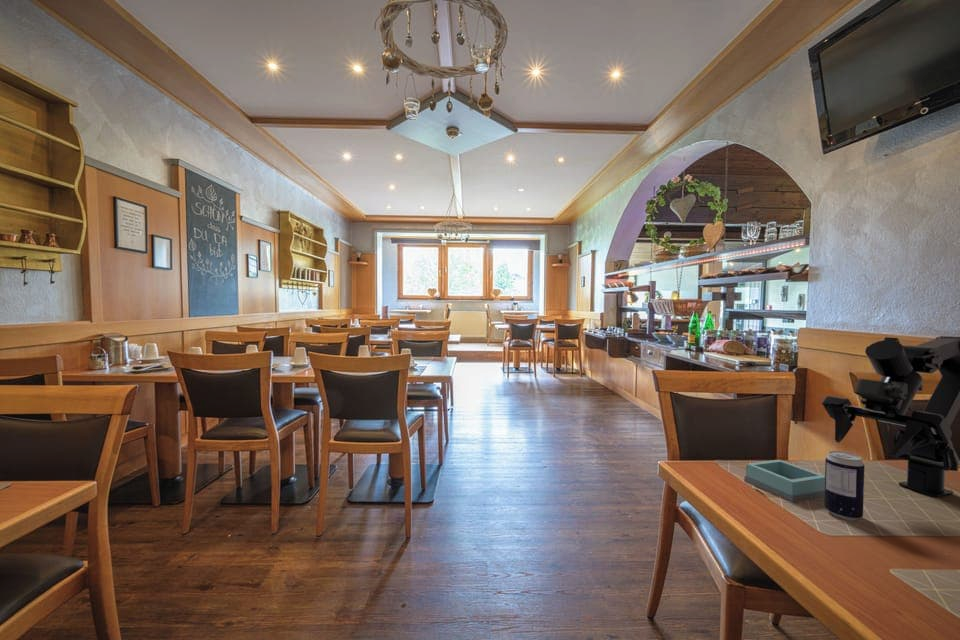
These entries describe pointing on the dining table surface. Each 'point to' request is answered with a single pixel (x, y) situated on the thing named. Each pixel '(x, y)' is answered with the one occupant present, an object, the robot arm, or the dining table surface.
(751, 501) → the dining table surface
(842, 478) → the beverage can
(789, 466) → the can dock
